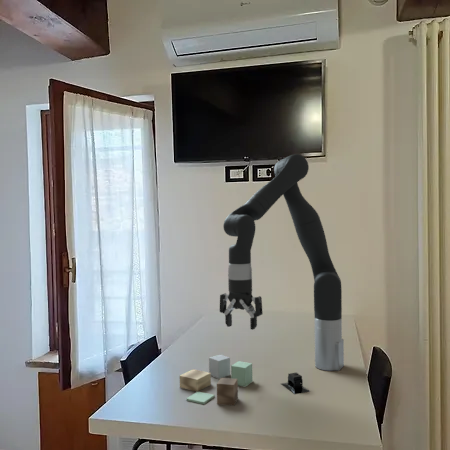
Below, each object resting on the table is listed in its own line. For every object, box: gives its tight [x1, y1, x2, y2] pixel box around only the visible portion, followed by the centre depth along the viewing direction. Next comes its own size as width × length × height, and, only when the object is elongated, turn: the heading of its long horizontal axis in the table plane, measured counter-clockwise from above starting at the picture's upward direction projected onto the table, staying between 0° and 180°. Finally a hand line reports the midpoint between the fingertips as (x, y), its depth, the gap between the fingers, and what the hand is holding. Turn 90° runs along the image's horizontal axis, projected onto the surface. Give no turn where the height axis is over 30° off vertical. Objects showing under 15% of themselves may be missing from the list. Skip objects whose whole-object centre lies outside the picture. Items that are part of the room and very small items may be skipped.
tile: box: [186, 391, 215, 405], centre depth 145 cm, size 6×6×1 cm
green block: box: [230, 360, 254, 387], centre depth 158 cm, size 5×5×6 cm
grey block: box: [208, 354, 231, 380], centre depth 165 cm, size 5×5×6 cm
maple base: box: [179, 368, 212, 393], centre depth 156 cm, size 7×7×4 cm
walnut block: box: [216, 377, 239, 406], centre depth 143 cm, size 5×5×6 cm
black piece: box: [280, 372, 311, 395], centre depth 153 cm, size 12×7×5 cm, turn 20°
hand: (240, 327), depth 157 cm, fingers open, 8 cm apart
